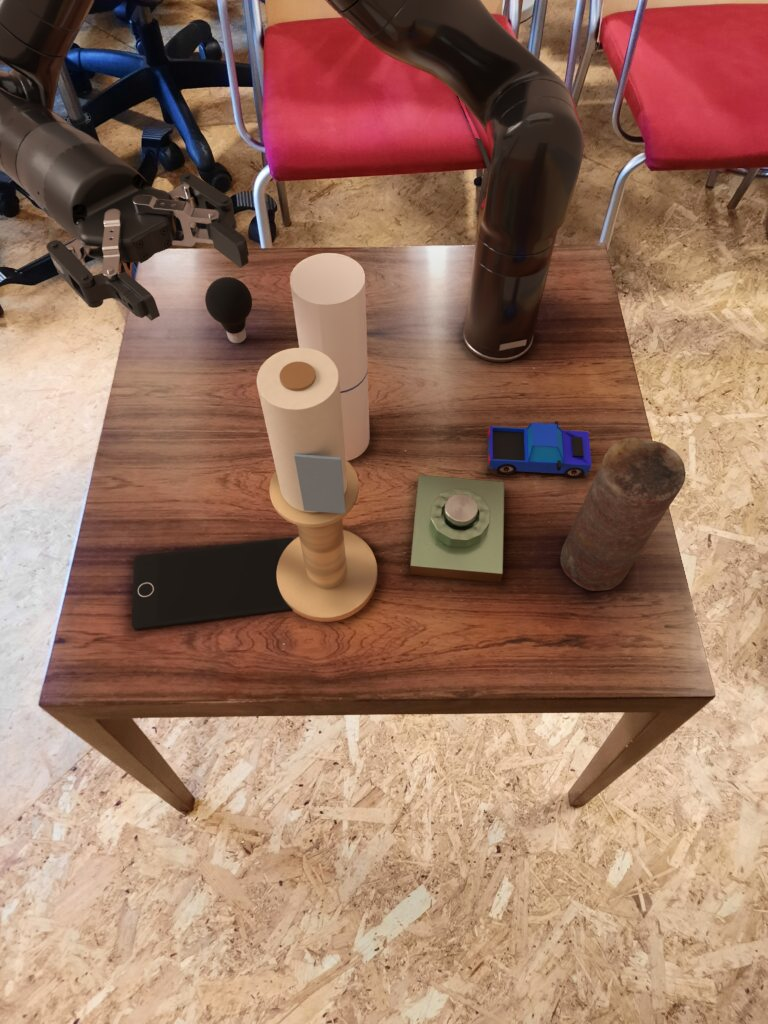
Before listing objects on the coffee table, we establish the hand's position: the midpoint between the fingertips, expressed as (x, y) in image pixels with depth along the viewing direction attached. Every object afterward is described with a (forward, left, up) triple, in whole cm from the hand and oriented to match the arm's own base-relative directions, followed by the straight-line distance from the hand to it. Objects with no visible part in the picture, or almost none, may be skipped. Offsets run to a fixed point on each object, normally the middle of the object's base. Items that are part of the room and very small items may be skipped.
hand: (200, 282), depth 56 cm
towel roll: (+7, +9, -16) cm, 19 cm away
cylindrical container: (-12, +8, -34) cm, 37 cm away
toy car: (-11, +32, -34) cm, 48 cm away
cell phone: (+9, -3, -35) cm, 36 cm away
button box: (0, +23, -34) cm, 41 cm away
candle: (+3, +38, -34) cm, 51 cm away
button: (0, +23, -31) cm, 38 cm away
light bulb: (-27, -8, -34) cm, 44 cm away
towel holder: (+7, +9, -34) cm, 36 cm away
